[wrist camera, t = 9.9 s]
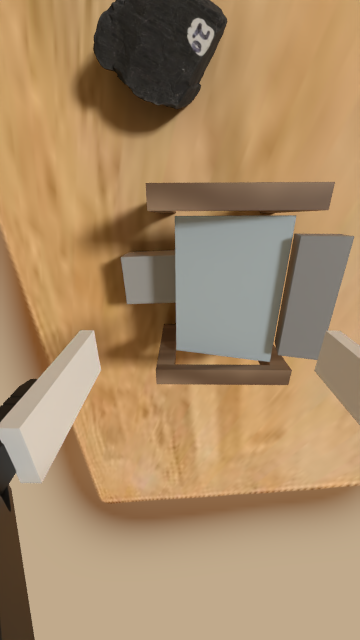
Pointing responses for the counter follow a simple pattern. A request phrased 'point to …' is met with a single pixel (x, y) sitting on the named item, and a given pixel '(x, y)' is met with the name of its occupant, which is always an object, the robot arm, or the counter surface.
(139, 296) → the grey rectangular block
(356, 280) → the counter surface
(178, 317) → the trapdoor
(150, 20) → the rock
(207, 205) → the trapdoor frame
